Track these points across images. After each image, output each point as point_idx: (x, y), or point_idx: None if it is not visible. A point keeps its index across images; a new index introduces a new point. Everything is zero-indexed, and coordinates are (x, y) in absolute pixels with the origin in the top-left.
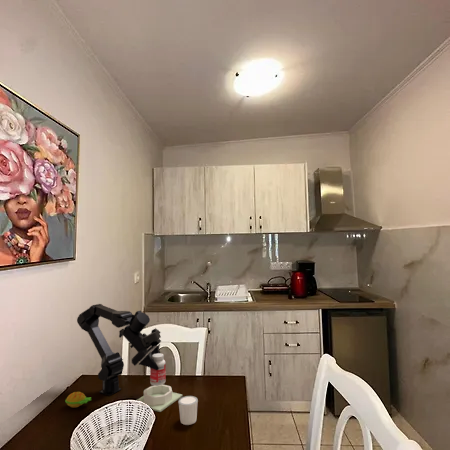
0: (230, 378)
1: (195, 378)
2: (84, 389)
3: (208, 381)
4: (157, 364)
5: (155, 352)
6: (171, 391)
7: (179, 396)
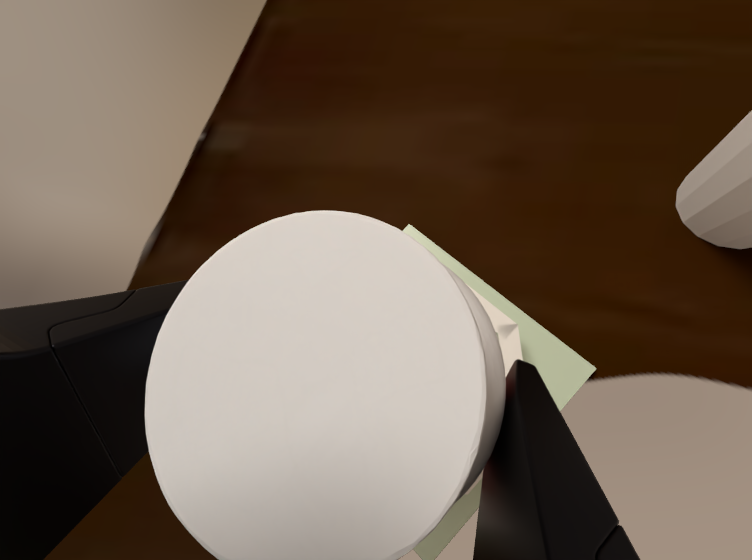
0: (291, 7)
1: (223, 156)
2: None
3: (283, 97)
4: (503, 388)
5: (34, 423)
6: None
7: (428, 240)
